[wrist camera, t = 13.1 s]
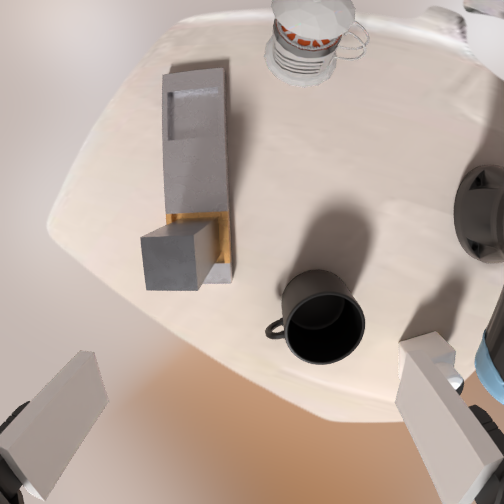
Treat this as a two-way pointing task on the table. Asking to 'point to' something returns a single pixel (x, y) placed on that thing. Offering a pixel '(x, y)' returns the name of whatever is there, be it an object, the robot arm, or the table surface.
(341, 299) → the mug
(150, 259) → the graphite post
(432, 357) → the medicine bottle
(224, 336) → the table surface
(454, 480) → the robot arm
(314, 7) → the french press
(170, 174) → the rail
